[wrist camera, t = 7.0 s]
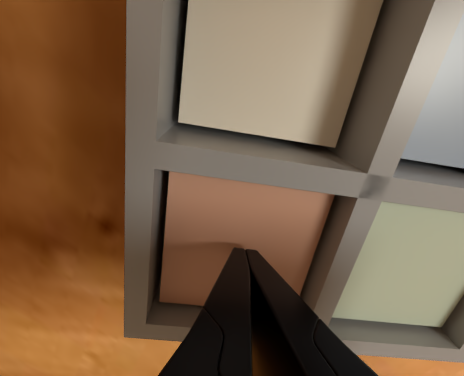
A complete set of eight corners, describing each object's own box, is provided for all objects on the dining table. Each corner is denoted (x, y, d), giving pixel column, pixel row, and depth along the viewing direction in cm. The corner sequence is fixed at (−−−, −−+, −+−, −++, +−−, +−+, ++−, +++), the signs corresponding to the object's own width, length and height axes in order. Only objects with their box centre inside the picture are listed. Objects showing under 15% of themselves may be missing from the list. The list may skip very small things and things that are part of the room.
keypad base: (574, -49, 10) (951, -191, 5) (389, 297, 17) (464, 392, 12) (153, -164, 9) (43, -566, 3) (138, 272, 16) (96, 370, 10)
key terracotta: (305, 165, 12) (334, 194, 9) (277, 262, 14) (292, 313, 11) (183, 147, 11) (169, 171, 8) (173, 251, 13) (159, 301, 10)
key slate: (499, 26, 11) (609, 4, 8) (438, 153, 13) (505, 175, 10) (377, -2, 10) (444, -38, 7) (333, 135, 12) (371, 153, 9)
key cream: (345, -10, 10) (399, -50, 7) (306, 131, 12) (335, 147, 9) (204, -42, 9) (196, -101, 6) (189, 111, 12) (178, 122, 8)
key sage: (441, 186, 12) (513, 219, 9) (395, 275, 14) (441, 327, 11) (333, 169, 12) (373, 200, 9) (301, 265, 14) (324, 316, 11)
